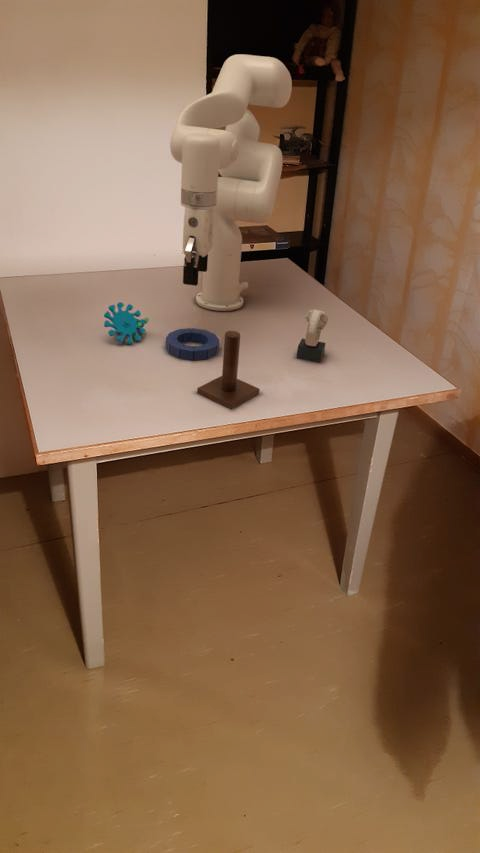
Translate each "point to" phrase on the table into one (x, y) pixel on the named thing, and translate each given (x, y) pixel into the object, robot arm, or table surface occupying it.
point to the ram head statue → (313, 337)
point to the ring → (192, 352)
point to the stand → (229, 378)
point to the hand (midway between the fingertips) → (195, 277)
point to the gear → (125, 323)
